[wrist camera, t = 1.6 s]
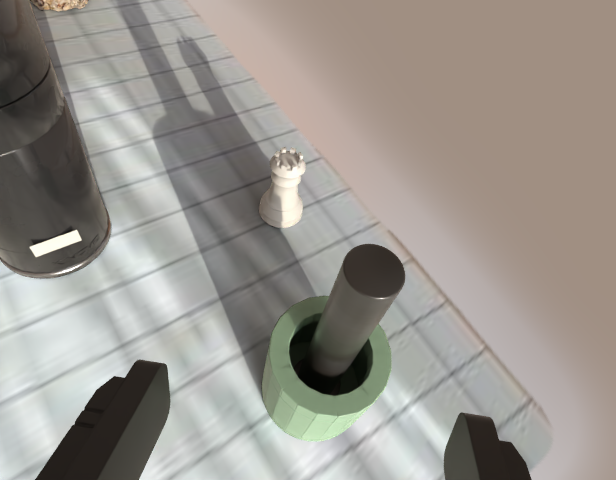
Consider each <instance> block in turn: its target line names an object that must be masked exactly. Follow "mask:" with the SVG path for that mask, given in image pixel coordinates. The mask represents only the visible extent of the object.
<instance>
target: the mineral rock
mask: <svg viewBox="0 0 616 480" xmlns="http://www.w3.org/2000/svg"><path fill="white" fill-rule="evenodd" d="M30 1H31V2H32V3H33V4H34V5H36V6H38V9H40V10H44V9H46V10H49V9H51V10H55V11H56V10H57V11H61V10H64V11H66V10H68V9H73V8H79V9H81V8H83V7H85V4H87V2H88V0H30Z"/></svg>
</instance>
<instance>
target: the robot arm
mask: <svg viewBox="0 0 616 480" xmlns="http://www.w3.org/2000/svg"><path fill="white" fill-rule="evenodd" d="M110 235H111V221H110V217H109V215H108V212H107V210H106V208H105V207H104V204H103V202H102V199H101V196H100V193H99V190H98V187H97V185H96V182H95V179H94V176H93V174H92V171H91V168H90V165H89V163H88V160H87V157H86V154H85V152H84V149H83V146H82V143H81V141H80V138H79V135H78V132H77V130H76V127H75V124H74V121H73V119H72V116H71V113H70V111H69V108H68V105H67V102H66V100H65V97H64V95H63V92H62V89H61V87H60V84H59V81H58V78H57V76H56V73H55V70H54V67H53V65H52V62H51V59H50V57H49V54H48V51H47V48H46V45H45V43H44V40H43V37H42V35H41V32H40V29H39V26H38V24H37V21H36V18H35V15H34V13H33V10H32V7H31V4H30V1H29V0H0V260H1V261H2V263H3V264H4V265H5V266H6V267H7V268H9V269H10V270H12V271H13V272H15V273H17V274H19V275H22V276H26V277H31V278H55V277H60V276H64V275H67V274H70V273H73V272H75V271H77V270H79V269H81V268H83V267H85V266H87V265H88V264H89V263H91V262H92V261H93V260H94V259H96V258H97V257H98V256H99V255H100V253H101V252H102V251H103V250H104V248H105V247H106V245H107V243H108V241H109V238H110ZM169 409H170V391H169V381H168V370H167V365H166V364H164V363H157V362H151V361H145V360H137V361H136V362H135V363H134V365H133V366H132V368H131V369H130V371H129V372H128V374H127V375H126V377H125V378H122V377H116V376H114V377H113V378H111V379H110V380H109V381H108V382H106V383H105V384H104V385H102V386H101V387H100V388H99V389H97V390H96V392H95V393H94V395H93V396H92V398H91V399H90V400H89V402H88V403H87V405H86V406H85V410H84V411H82V412H81V414H80V415H79V417H78V418H77V419H76V421H75V424H74V425H72V427H71V428H70V430H69V431H68V433H67V434H66V436H65V437H64V438H63V440H62V441H61V443H60V444H59V446H58V447H57V449H56V450H55V452H54V453H53V455H52V456H51V457H50V459H49V460H48V462H47V463H46V465H45V466H44V468H43V469H42V471H41V472H40V474H39V475H38V476H37V478H36V479H35V480H139V478H140V476H141V474H142V472H143V470H144V467H145V465H146V463H147V461H148V459H149V457H150V455H151V453H152V451H153V448H154V446H155V444H156V442H157V440H158V438H159V436H160V434H161V431H162V429H163V427H164V425H165V423H166V420H167V417H168V414H169ZM444 473H445V480H531V477H530V474H529V471H528V468H527V465H526V462H525V461H524V460H523V458H522V457H521V455H520V454H519V453H518V451H517V450H516V448H515V447H514V446H513V444H512V443H511V442H505V441H499V439H498V435H497V432H496V428H495V425H494V422H493V420H492V419H491V418H490V417H486V416H480V415H474V414H468V413H460V414H459V416H458V418H457V420H456V423H455V425H454V428H453V430H452V433H451V435H450V438H449V441H448V443H447V446H446V449H445V454H444Z"/></svg>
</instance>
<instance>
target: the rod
mask: <svg viewBox="0 0 616 480" xmlns="http://www.w3.org/2000/svg"><path fill="white" fill-rule="evenodd" d="M404 282H405V271H404V267H403V265H402V263H401V261H400V260H399V258H398V257H397V256H396V255H395V254H394V253H393V252H391V251H390V250H388V249H387V248H385V247H382V246H379V245H375V244H363V245H359V246H357V247H355V248H353V249H352V250H350V251H349V252H348V253H347V255H346V256H345V259H344V261H343V263H342V266H341V268H340V271H339V273H338V276H337V278H336V281H335V283H334V286H333V288H332V291H331V293H330V295H329V298H328V300H327V303H326V305H325V308H324V310H323V313H322V315H321V318H320V320H319V323H318V325H317V328H316V330H315V332H314V335H313V337H312V340H311V342H310V345H309V347H308V350H307V352H306V355H305V357H304V359H302V360H300V361H299V362H298V363H297V364H296V365H295V366H294V368H293V369H294V371H295V373H296V374H297V376H298V378H299V379H300V380H301V381H302V382H303V383H304V384H306V385H307V386H308V387H309V388H311V389H313V390H315V391H318V392H320V393H322V394H328V395H338V394H339V391H340V386H341V380H340V379H341V378H342V376H343V375H344V374H345V372H346V371H347V369H348V368H349V366H350V365H351V363H352V362H353V360H354V359H355V357H356V356H357V354H358V353H359V351H360V350H361V348H362V347H363V345H364V344H365V342H366V341H367V339H368V338H369V337H370V335H371V334H372V332H373V331H374V329H375V328H376V326H377V325H378V323H379V322H380V320H381V319H382V317H383V316H384V314H385V313H386V311H387V310H388V308H389V307H390V305H391V304H392V302H393V301H394V300H395V298H396V297H397V295H398V294H399V292H400V291H401V289H402V287H403V285H404Z"/></svg>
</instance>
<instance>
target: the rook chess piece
mask: <svg viewBox="0 0 616 480" xmlns="http://www.w3.org/2000/svg"><path fill="white" fill-rule="evenodd" d="M302 157H303V155H302V154H301V152H299V153H298V154H296V149H294V148H291V150H290V151H286V147H284V148H281V149H280V152H278V151H277V152H276V153H275V155H274V156H273V157H272V158H271V160H270V168H271V169H272V172H271V179H272V184H271V187H270V188H269V189H268V190H267V191H266V192H265V193H264V194H263V196H262V198H261V200H260V205H259V214H260V215H261V217H262V219H263V220H264V221H265V222H267V223H268V224H269V225H271V226H274V227H277V228H286V227H290V226H293V225H295V224H296V223H297V222H298V221H299V220H300V218H301V216H302V209H303V205H302V199H301V198H300V195H299V194H298V188H297V186H298V184H299V183H300V180H301V175H302V174H303V173H304V171H305V169H306V165H305V162H304V160H303V159H302Z"/></svg>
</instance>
